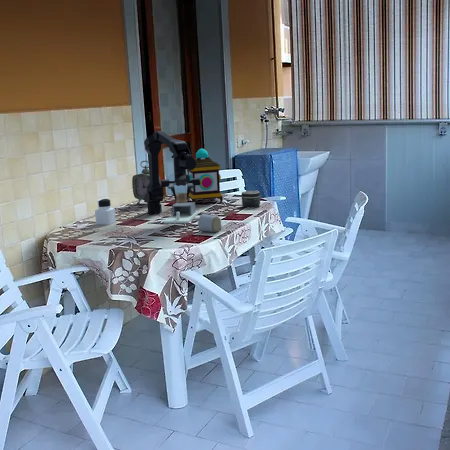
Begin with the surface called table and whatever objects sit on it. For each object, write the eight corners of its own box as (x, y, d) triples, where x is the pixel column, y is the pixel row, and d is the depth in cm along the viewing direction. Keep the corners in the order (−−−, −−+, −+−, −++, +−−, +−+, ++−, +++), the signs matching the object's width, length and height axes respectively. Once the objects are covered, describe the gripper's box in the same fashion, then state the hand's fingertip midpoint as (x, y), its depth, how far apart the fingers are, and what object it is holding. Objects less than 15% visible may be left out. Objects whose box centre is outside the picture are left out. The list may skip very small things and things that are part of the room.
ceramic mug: (213, 234, 264) (212, 216, 262) (198, 232, 268) (197, 215, 267) (226, 229, 273) (225, 212, 271) (211, 227, 277) (210, 211, 275)
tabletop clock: (133, 205, 344) (130, 161, 338) (143, 202, 351) (140, 159, 346) (153, 206, 336) (150, 161, 331) (163, 203, 343) (160, 159, 338)
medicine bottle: (116, 221, 300) (113, 198, 297) (108, 225, 293) (106, 200, 291) (103, 221, 302) (101, 197, 300) (95, 224, 296) (93, 200, 293)
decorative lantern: (184, 200, 352) (181, 148, 346) (217, 197, 356) (214, 146, 350) (190, 205, 333) (187, 151, 327) (225, 202, 337) (223, 148, 331)
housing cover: (172, 215, 302) (172, 205, 301) (177, 212, 311) (176, 202, 310) (191, 215, 301) (190, 205, 300) (195, 211, 309) (194, 202, 308)
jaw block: (176, 201, 294) (175, 193, 293) (186, 200, 294) (186, 192, 293) (176, 203, 289) (176, 195, 288) (187, 202, 289) (186, 194, 288)
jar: (263, 205, 325) (263, 191, 323) (254, 208, 316) (254, 194, 315) (247, 204, 330) (247, 190, 328) (238, 207, 322) (237, 193, 320)
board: (163, 223, 290) (163, 214, 289) (175, 214, 312) (174, 205, 311) (188, 223, 288) (187, 214, 287) (197, 213, 309) (197, 205, 308)
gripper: (160, 171, 279) (162, 204, 283) (200, 169, 281) (201, 202, 284) (160, 168, 290) (162, 199, 294) (199, 166, 292) (200, 197, 295)
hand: (181, 200), depth 291 cm, fingers closed on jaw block, 5 cm apart
